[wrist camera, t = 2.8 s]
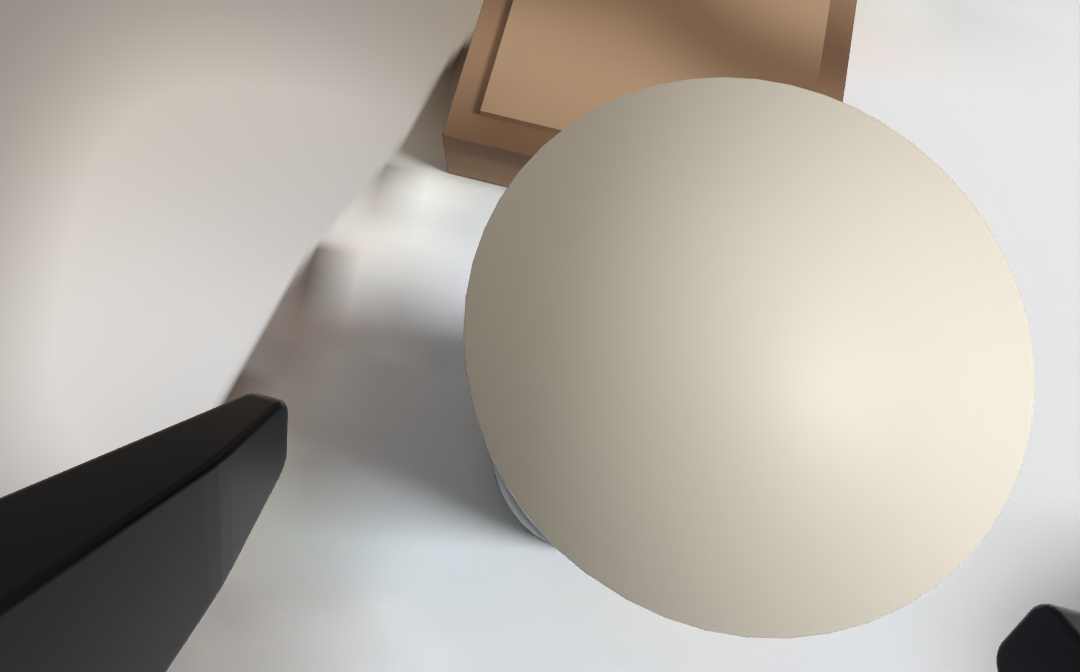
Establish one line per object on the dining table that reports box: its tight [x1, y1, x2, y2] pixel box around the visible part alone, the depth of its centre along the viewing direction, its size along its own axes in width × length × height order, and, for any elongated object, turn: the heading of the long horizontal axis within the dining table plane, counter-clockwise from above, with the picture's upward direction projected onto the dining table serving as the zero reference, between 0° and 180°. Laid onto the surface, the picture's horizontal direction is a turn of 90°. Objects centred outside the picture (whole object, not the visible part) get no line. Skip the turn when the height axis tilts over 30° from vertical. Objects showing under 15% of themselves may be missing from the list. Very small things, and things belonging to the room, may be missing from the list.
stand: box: [442, 0, 857, 187], centre depth 20 cm, size 10×10×2 cm
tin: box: [463, 77, 1035, 638], centre depth 12 cm, size 5×5×12 cm
